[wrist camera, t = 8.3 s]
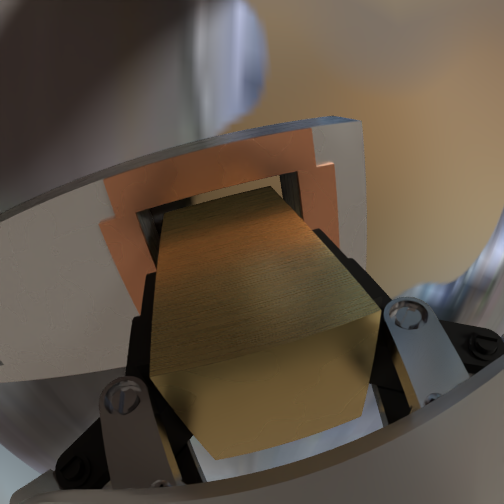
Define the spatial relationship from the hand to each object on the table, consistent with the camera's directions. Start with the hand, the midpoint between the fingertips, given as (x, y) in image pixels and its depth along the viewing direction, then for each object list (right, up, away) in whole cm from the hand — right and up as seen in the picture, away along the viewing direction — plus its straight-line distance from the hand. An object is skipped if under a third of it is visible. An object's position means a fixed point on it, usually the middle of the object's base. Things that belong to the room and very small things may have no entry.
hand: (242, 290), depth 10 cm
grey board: (-10, 0, +3) cm, 10 cm away
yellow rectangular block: (-1, +2, +3) cm, 3 cm away
